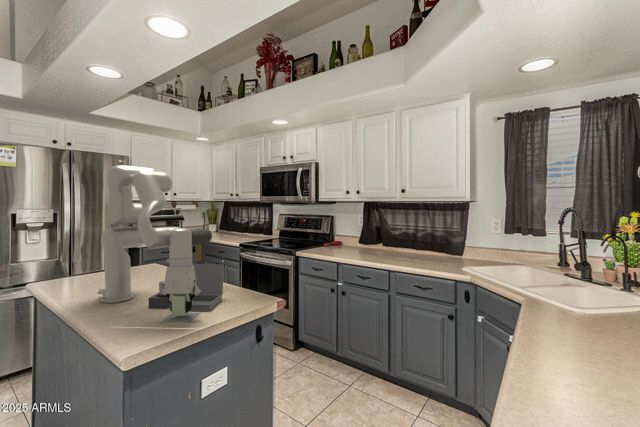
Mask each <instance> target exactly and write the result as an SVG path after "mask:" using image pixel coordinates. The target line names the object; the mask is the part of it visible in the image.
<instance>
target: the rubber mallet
mask: <svg viewBox="0 0 640 427" xmlns="http://www.w3.org/2000/svg"><path fill="white" fill-rule="evenodd" d="M190 230H191V229H190ZM191 232H192V246H195V261H194V264H203V261H202V245H204V244H207V243H210V242H211V241H212V237H213V234H212V231H211V230H210V229H208V228H197V229H192V230H191Z"/></svg>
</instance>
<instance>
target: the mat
mask: <svg viewBox="0 0 640 427" xmlns="http://www.w3.org/2000/svg"><path fill="white" fill-rule="evenodd" d="M201 314H202V312H188V313H187V314H186V315H184V316H181V315H172V313H170V314H169V315H168V316H166V317H164V318H163V319H161V320H160V322H161V323H192V322H193V321H195V320H196V318H198V317H199V316H200V315H201Z"/></svg>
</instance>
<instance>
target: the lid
mask: <svg viewBox="0 0 640 427" xmlns="http://www.w3.org/2000/svg"><path fill="white" fill-rule="evenodd" d="M192 265H194V269H195V274H196V285H197V286H198V288H199V289H200V290H201V292H200V293H199V294H200V295H222V296H223V293H224V292H223V291H224V275H225V273H224V272H225V264H224V263H222V264H220V263H217V264H215V263H202V264H195V263H192ZM193 293H195V291H193V292H192V294H193Z"/></svg>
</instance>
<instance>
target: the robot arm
mask: <svg viewBox="0 0 640 427" xmlns="http://www.w3.org/2000/svg"><path fill="white" fill-rule="evenodd" d="M106 182H107V186H108V192H109V195H108V207H107V221H108V222H109V223H110V224H111V225H114V226H115V227H109V228H106V229H105V230H104V231H103V232H102V233H101V236H100V239H101V240H100V241H101V245H102V248H103V258H104V260H103V261H104V288H100V289H99V290H98V291H97V293H96V294H97V295H102V297H101V298H100V302H102V303H104V304H105V303H106V304H113V303H122V302H127V301H129V300H132V299H133V298H135V297H136V293H135V292H133V291H132V284H131V282H132V278H131V275H132V274H131V272H132V271H131V269H132V268H131V256H130V255H129V253H128V252H127V251H126V250H125V249H129V248H138V247H142V246H145V247H147V248H148V249H151V250H153V249H160V248H168V249H169V252H168V253H169V254H168V255H169V257H168V258H165V259H166V260H165V263H168V265H166V266H167V267H166V271H165V277H164V281H165V287H164V288H163V290H162V291H161V292H162V293H163V294H164V295H166V297H167V298H168V299H169V301H171V311H170V312H172V296H173V295H175V294H185V295H186V299H187V301H186V303H185V310H186V313H190V312H191V311H190V310H191V309H192V299H193V298H194V297H195V296H196V295H198V294H199V293H200V292H201V290H200V289H199V288H198V286H197V285H196V274H195V269H194V265H192V264H193V245H192V232H191V229H190V228H186V227H185V228H184V227H182V228H181V227H180V226H179V227H178V226H161V227H153V225H152V222H151V220H150V219H151V218H150V216H151V215H153V214H156V213H158V212H160V211H161V210H163V209H164V208H165V207H166V206H167V200H166V197H165V195H164V193H168V192H170V191H171V190H172V188H173V181H172V178H171V177H170V175H169V174H168V173H166V172H165V171H162V170H158V169H156V168H153V167H145V166H143V167H142V166H135V165H127V164H126V165H125V164H124V165H123V164H118V165H117V164H116V165H113V166H111V167H110V168H108V170H107V175H106ZM130 187H134V188H135V192H136V193H137V197H138V200H139V201H140V202H139V203H138V202H137V203H136V202H134V203H133V197H134V195H133V191H132V189H131V188H130ZM126 225H132V226H126ZM117 226H118V227H117ZM193 291H195V293H193V294H192V292H193Z"/></svg>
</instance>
